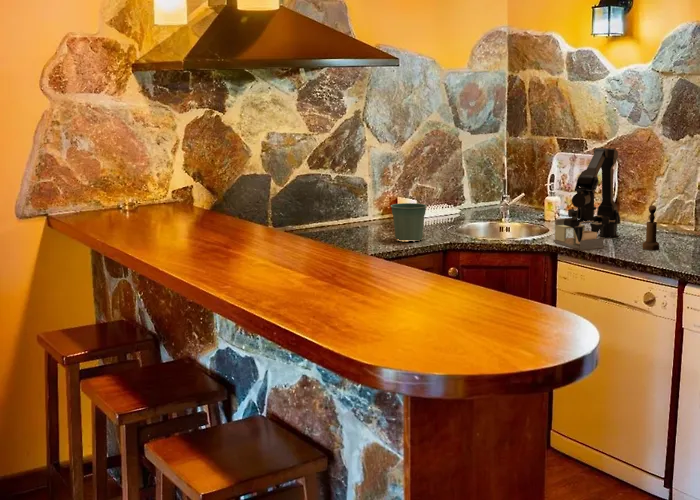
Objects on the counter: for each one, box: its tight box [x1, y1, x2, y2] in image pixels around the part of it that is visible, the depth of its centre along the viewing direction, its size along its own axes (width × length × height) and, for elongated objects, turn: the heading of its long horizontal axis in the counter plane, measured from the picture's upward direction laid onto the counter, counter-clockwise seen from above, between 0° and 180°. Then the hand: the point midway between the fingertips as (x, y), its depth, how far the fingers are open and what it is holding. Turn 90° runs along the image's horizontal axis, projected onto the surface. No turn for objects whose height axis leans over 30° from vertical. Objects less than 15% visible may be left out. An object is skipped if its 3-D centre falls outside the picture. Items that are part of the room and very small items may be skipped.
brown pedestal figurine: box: [642, 205, 660, 251], centre depth 334 cm, size 7×6×18 cm
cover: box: [554, 217, 586, 242], centre depth 353 cm, size 10×7×9 cm
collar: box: [576, 230, 598, 244], centre depth 342 cm, size 6×6×5 cm
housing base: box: [553, 237, 605, 251], centre depth 348 cm, size 11×20×4 cm, turn 19°
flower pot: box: [390, 202, 428, 240], centre depth 368 cm, size 16×16×16 cm
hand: (586, 241), depth 342 cm, fingers closed on collar, 6 cm apart
